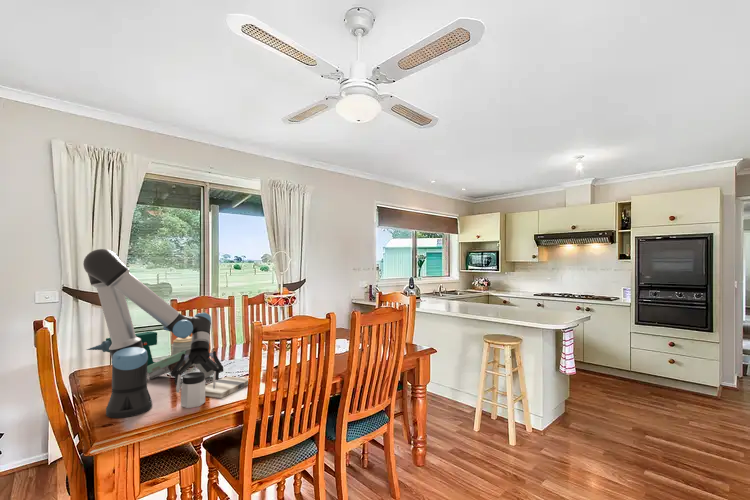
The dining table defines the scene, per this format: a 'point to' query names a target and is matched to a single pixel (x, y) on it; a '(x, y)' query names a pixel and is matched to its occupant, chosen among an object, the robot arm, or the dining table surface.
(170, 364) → the ray gun
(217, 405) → the dining table surface
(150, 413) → the dining table surface
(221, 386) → the board
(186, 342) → the jar
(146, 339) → the power tool
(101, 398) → the dining table surface
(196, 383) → the jar
